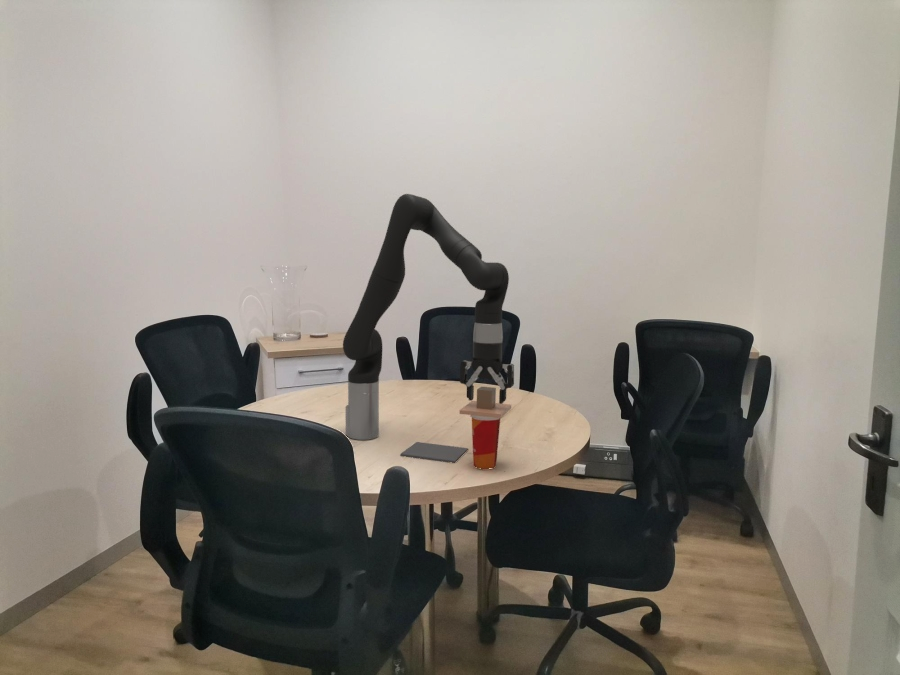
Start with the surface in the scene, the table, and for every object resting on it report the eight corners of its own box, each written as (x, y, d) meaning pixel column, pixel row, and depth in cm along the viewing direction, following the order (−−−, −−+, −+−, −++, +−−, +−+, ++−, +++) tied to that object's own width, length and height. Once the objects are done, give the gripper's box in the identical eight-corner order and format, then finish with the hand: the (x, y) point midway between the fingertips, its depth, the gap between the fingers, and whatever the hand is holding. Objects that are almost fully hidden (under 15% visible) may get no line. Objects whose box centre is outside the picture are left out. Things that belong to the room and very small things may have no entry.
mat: (400, 455, 171) (400, 453, 170) (416, 443, 182) (416, 441, 182) (454, 463, 165) (454, 461, 165) (468, 450, 177) (468, 448, 177)
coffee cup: (481, 458, 170) (482, 405, 168) (506, 465, 164) (507, 410, 162) (462, 466, 163) (463, 411, 161) (487, 473, 158) (489, 416, 156)
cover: (459, 413, 158) (459, 391, 158) (472, 404, 169) (472, 382, 168) (500, 418, 155) (501, 394, 154) (511, 408, 165) (511, 386, 164)
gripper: (457, 340, 158) (455, 402, 160) (511, 343, 153) (509, 407, 156) (465, 336, 165) (464, 396, 167) (518, 339, 160) (516, 401, 163)
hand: (486, 401), depth 161 cm, fingers open, 8 cm apart
